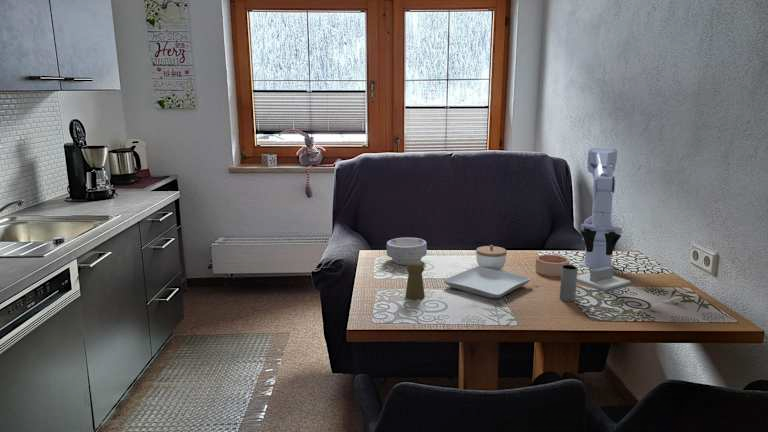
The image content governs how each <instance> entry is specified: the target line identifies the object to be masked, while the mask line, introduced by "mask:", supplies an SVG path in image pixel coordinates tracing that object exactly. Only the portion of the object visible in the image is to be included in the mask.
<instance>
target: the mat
mask: <svg viewBox="0 0 768 432" xmlns="http://www.w3.org/2000/svg"><path fill="white" fill-rule="evenodd" d="M576 284H581V285H583V286H586V287H588V288H591V289H594V290H596V291H600V292H603V293H609V292H613V291H617V290H621V289H624V288H628V287H632V286H635V285H636V286H637V283H636V282H632V281H631V283H630V284H626V285H623V286H619V287H615V288H612V289H608V290H602V289H600V288H597V287H594V286H591V285H588V284H585V283H582V282H579V281H577V282H576Z"/></svg>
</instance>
